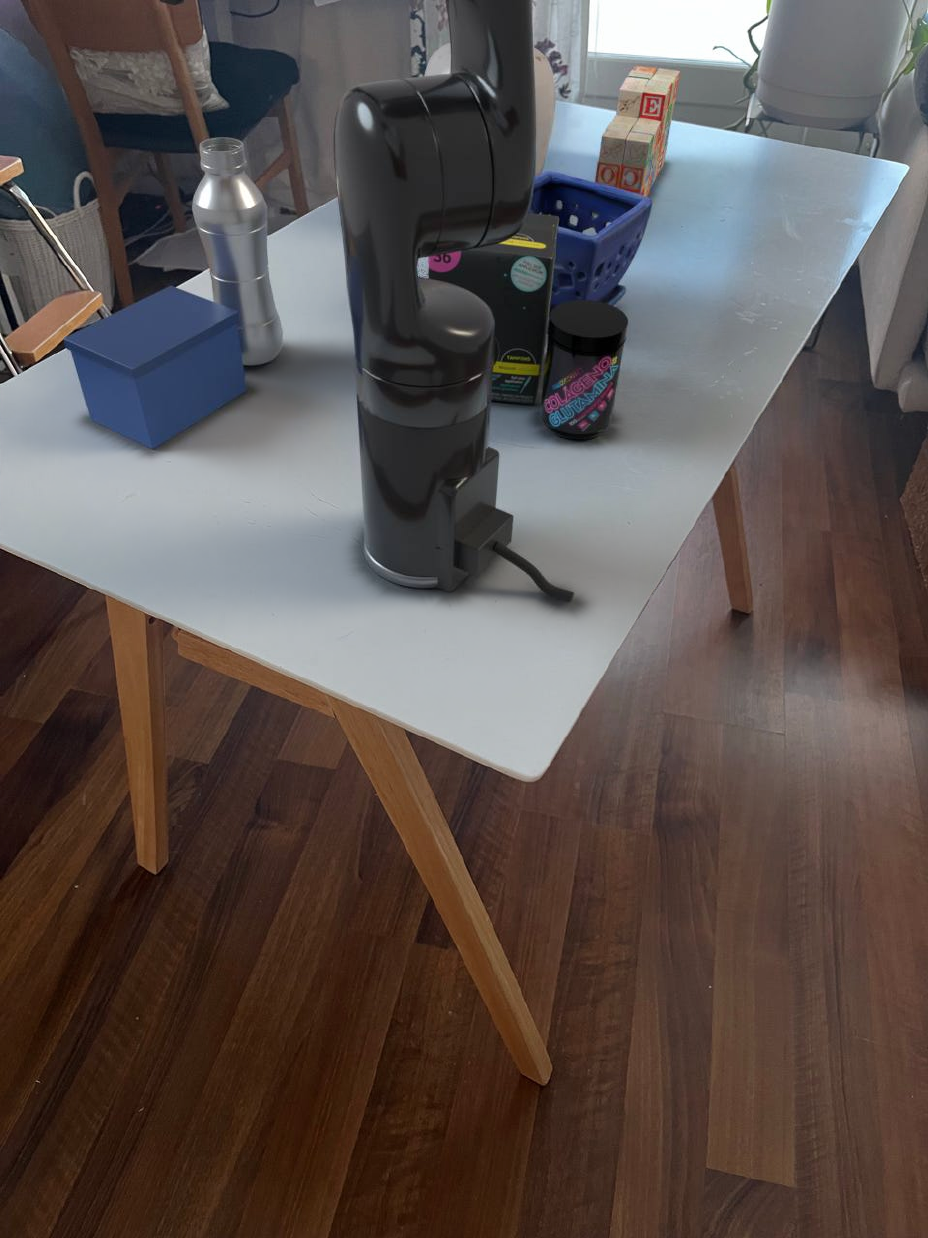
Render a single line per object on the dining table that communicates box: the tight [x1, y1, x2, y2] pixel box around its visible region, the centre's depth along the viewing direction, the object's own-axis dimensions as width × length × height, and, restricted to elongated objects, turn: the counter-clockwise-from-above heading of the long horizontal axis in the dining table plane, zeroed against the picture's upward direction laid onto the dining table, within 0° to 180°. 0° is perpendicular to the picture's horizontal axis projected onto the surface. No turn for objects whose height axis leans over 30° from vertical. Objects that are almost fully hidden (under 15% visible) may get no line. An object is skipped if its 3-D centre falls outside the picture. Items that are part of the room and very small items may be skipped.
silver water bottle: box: [191, 137, 284, 366], centre depth 86 cm, size 6×7×20 cm
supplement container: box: [539, 300, 629, 441], centre depth 83 cm, size 7×7×10 cm
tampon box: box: [427, 213, 559, 406], centre depth 87 cm, size 11×9×15 cm
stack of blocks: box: [594, 65, 681, 197], centre depth 125 cm, size 21×6×12 cm, turn 162°
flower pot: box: [529, 170, 653, 331], centre depth 98 cm, size 13×13×12 cm
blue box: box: [63, 285, 248, 450], centre depth 84 cm, size 8×12×8 cm
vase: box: [424, 42, 557, 177], centre depth 111 cm, size 16×16×23 cm
